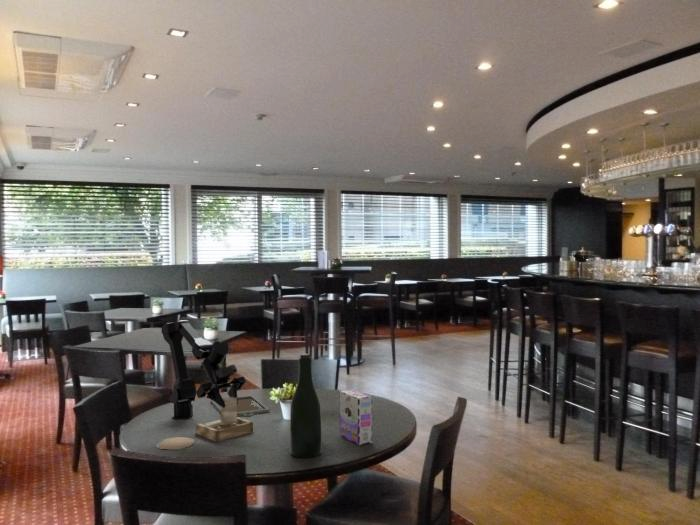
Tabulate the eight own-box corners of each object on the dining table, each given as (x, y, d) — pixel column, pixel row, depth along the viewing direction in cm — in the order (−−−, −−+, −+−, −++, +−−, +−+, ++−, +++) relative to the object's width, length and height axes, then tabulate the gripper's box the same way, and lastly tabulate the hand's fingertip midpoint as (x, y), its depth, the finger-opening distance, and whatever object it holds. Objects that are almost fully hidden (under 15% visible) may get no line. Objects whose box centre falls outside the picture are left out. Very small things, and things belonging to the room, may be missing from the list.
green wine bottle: (293, 460, 184) (292, 357, 184) (287, 449, 194) (286, 352, 194) (325, 456, 187) (324, 355, 187) (317, 446, 197) (317, 350, 197)
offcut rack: (195, 433, 213) (195, 423, 213) (231, 424, 224) (231, 415, 224) (216, 441, 203) (216, 431, 203) (252, 431, 214) (252, 422, 214)
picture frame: (252, 395, 266) (271, 410, 239) (252, 398, 266) (271, 414, 239) (210, 399, 258) (225, 416, 231) (210, 403, 258) (225, 420, 231)
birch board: (220, 423, 211) (220, 399, 210) (232, 420, 214) (232, 396, 214) (225, 425, 209) (225, 400, 208) (236, 422, 212) (236, 397, 212)
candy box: (372, 443, 200) (372, 396, 200) (358, 446, 197) (358, 398, 197) (353, 432, 212) (352, 388, 212) (339, 435, 209) (338, 390, 209)
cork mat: (148, 449, 195) (148, 448, 195) (165, 437, 208) (165, 436, 208) (185, 450, 194) (185, 449, 194) (199, 438, 207) (199, 437, 207)
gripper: (200, 361, 207) (217, 397, 200) (243, 354, 220) (260, 388, 213) (188, 380, 213) (205, 415, 205) (231, 372, 226) (248, 405, 219)
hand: (230, 405), depth 210 cm, fingers closed on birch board, 5 cm apart
